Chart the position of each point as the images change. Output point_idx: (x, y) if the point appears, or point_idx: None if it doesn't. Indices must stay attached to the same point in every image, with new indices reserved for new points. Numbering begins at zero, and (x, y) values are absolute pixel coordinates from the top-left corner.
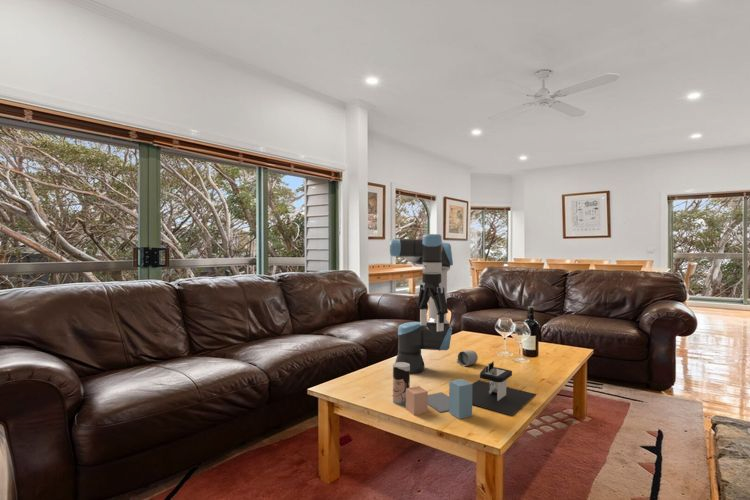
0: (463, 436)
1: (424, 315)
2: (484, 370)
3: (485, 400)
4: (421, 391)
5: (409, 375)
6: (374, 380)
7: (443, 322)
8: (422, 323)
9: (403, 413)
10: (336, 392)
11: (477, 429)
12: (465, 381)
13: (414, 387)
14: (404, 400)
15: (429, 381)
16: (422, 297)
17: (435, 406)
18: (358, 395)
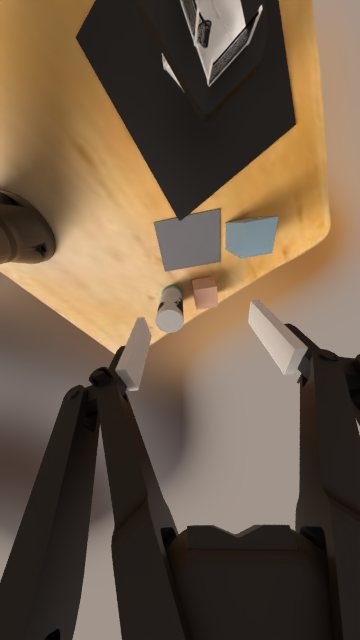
0: (284, 262)
1: (139, 352)
2: (183, 60)
3: (213, 140)
4: (213, 294)
5: (177, 304)
6: (95, 305)
7: (290, 325)
8: (148, 336)
9: None
10: None
11: (283, 234)
12: (259, 224)
13: (196, 298)
14: (182, 297)
15: (94, 218)
16: (81, 476)
17: (202, 260)
18: None
